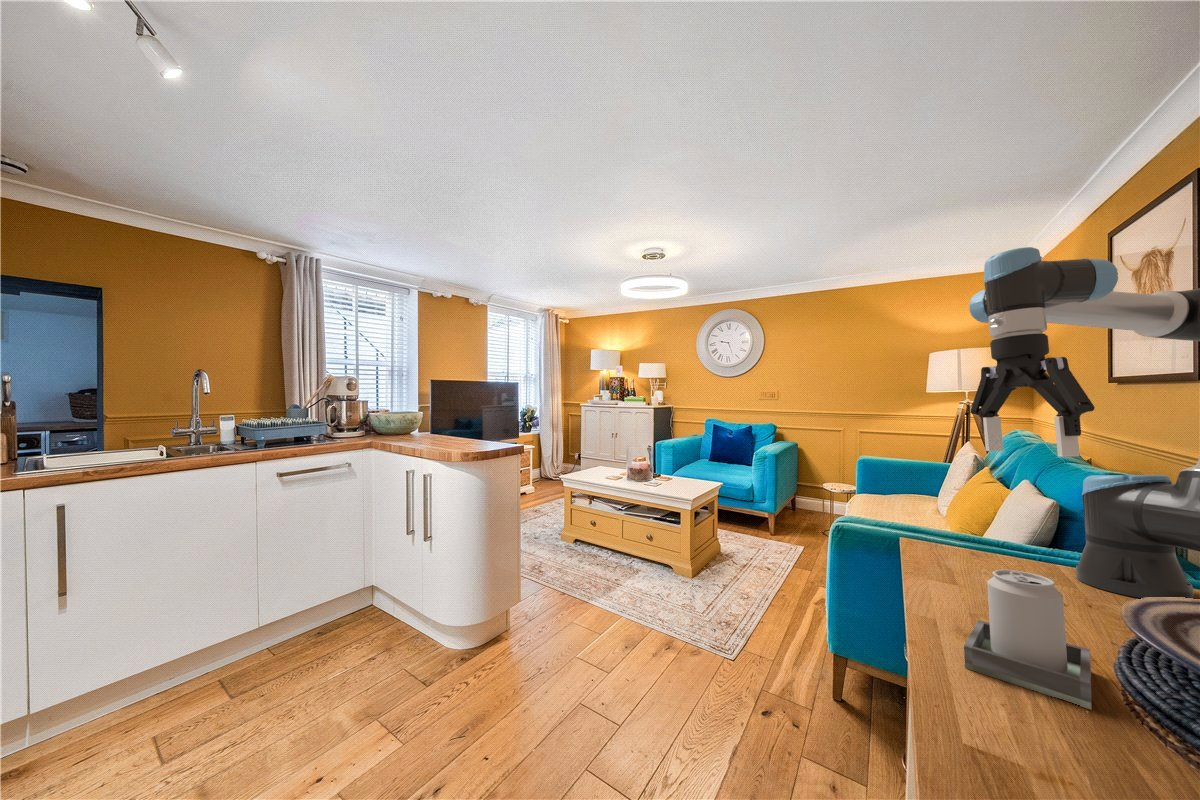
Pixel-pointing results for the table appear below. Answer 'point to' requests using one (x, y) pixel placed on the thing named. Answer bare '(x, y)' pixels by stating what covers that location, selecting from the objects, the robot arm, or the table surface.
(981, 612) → the table surface
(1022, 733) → the table surface
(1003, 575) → the can
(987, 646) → the tray
